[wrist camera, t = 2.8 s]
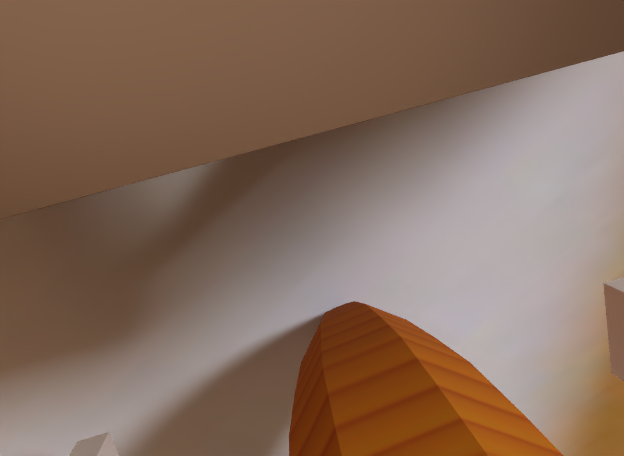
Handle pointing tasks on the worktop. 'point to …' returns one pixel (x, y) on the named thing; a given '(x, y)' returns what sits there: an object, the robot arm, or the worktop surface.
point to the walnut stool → (247, 76)
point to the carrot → (399, 395)
